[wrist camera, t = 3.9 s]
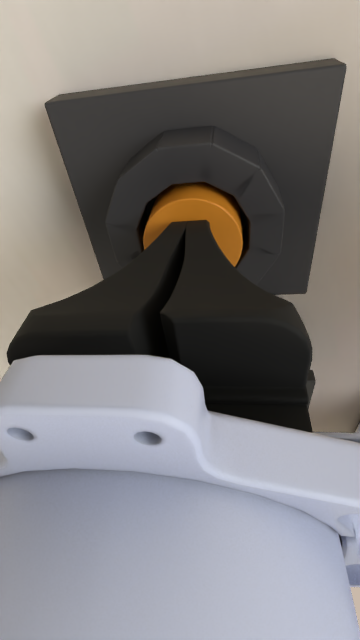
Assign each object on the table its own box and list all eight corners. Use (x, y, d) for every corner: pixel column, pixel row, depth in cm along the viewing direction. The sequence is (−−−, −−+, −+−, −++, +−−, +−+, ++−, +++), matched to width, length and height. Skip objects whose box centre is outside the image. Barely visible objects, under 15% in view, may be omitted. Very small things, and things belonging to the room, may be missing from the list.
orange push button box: (336, 57, 11) (368, 73, 9) (301, 276, 17) (314, 323, 15) (58, 94, 13) (16, 116, 10) (116, 283, 19) (100, 327, 16)
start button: (241, 170, 12) (243, 194, 11) (240, 256, 14) (242, 284, 13) (144, 179, 13) (133, 202, 11) (159, 260, 15) (152, 288, 13)
